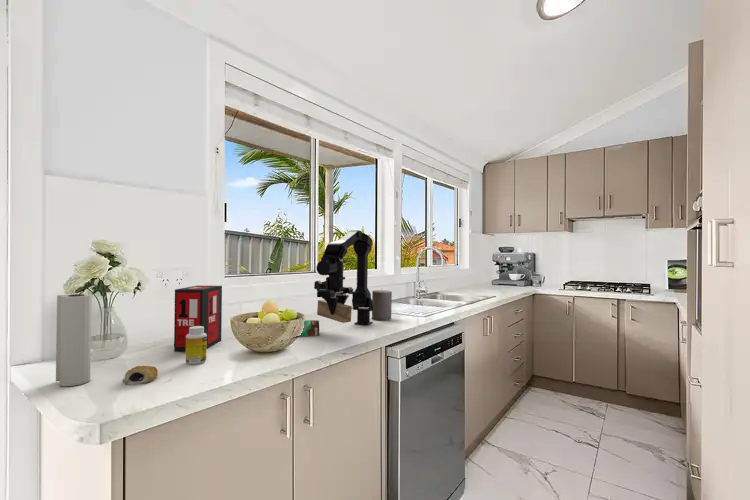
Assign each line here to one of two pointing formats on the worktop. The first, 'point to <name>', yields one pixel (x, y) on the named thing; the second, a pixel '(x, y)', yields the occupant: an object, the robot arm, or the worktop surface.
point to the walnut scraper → (340, 313)
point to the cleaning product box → (197, 314)
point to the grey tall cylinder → (73, 339)
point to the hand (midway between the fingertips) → (335, 313)
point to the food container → (310, 328)
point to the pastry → (140, 375)
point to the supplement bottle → (196, 345)
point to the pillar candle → (382, 304)
